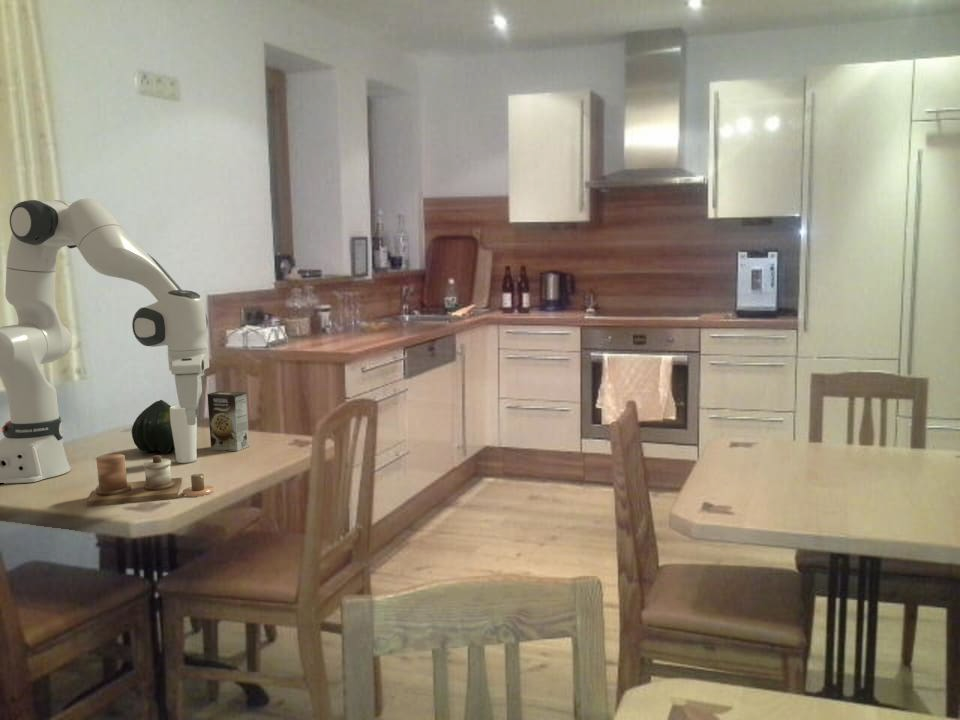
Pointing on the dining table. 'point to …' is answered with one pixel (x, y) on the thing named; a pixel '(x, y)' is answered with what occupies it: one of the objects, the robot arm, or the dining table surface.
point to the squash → (154, 429)
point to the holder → (120, 491)
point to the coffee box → (228, 420)
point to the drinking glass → (183, 435)
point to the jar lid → (198, 487)
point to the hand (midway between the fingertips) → (193, 420)
